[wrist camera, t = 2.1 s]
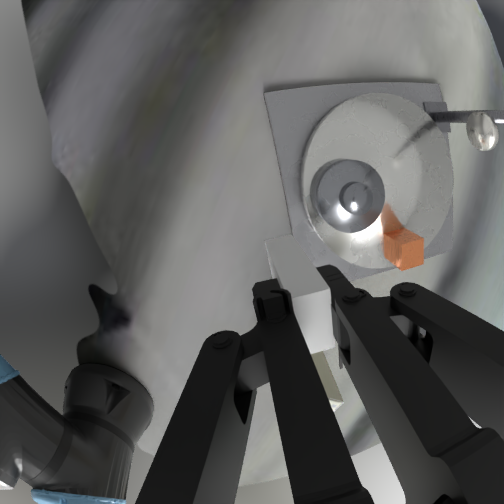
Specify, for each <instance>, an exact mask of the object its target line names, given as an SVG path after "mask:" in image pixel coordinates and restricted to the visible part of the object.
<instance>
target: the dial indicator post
mask: <svg viewBox="0 0 504 504" xmlns="http://www.w3.org/2000/svg"><path fill="white" fill-rule="evenodd" d="M423 103H424V108H425V112H426V113H427V114H428V115H429V116H430V117H431V118H432V119H433V121H434V122H435V123H436V124H437V126H438V128H439V129H440V131H441V132H442V133H443V132H451V129H450V123H467V124H466V129H467V135H468V138H469V140H470V142H471V143H472V145H473V146H474V147H475V148H476V149H478V150H481V151H487V150H492V149H493V148H494V147H495V146H496V145H497V142H498V128H497V125H496V124H504V111H498V110H473V111H448V110H447V104H446V102H423Z"/></svg>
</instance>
